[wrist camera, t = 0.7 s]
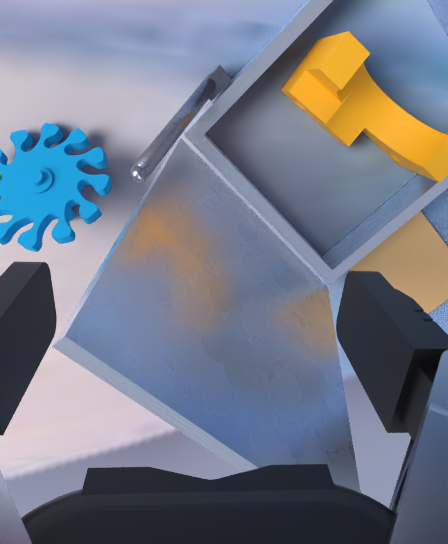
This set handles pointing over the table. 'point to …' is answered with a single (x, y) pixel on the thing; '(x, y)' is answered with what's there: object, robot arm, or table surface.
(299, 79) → the yellow curved stepped piece
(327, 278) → the case
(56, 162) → the gear
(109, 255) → the lid
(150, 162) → the rod
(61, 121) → the table surface
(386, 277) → the tan rectangular plate
